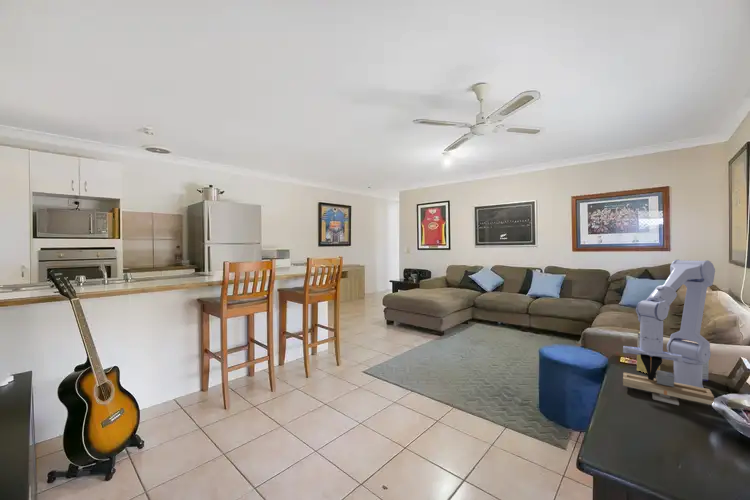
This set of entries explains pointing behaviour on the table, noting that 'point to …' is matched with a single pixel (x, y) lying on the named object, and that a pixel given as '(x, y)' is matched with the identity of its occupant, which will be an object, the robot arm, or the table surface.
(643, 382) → the tan slotted track
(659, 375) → the block
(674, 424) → the table surface
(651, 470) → the table surface
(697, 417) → the table surface
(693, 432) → the table surface
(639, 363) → the candy box
